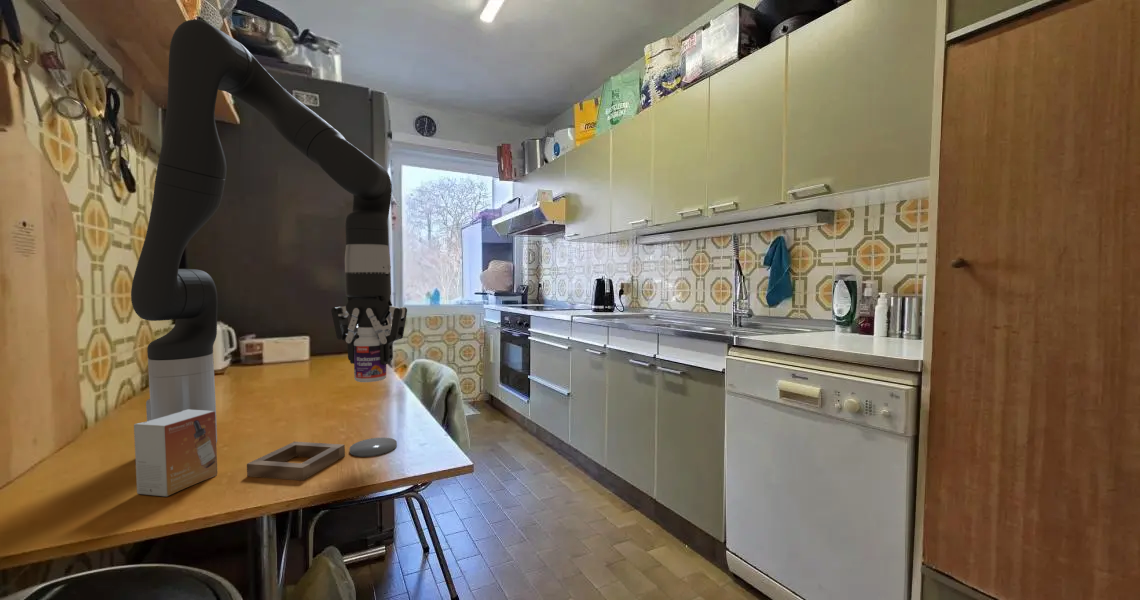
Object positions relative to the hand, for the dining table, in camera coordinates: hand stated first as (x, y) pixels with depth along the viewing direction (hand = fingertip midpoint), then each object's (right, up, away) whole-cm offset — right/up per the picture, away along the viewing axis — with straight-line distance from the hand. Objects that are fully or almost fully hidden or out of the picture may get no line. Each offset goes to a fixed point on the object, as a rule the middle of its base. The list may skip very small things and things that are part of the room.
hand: (370, 363), depth 84 cm
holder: (-9, -16, -7) cm, 20 cm away
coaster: (0, -16, +1) cm, 16 cm away
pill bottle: (0, -3, 0) cm, 3 cm away
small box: (-24, -17, -13) cm, 32 cm away
